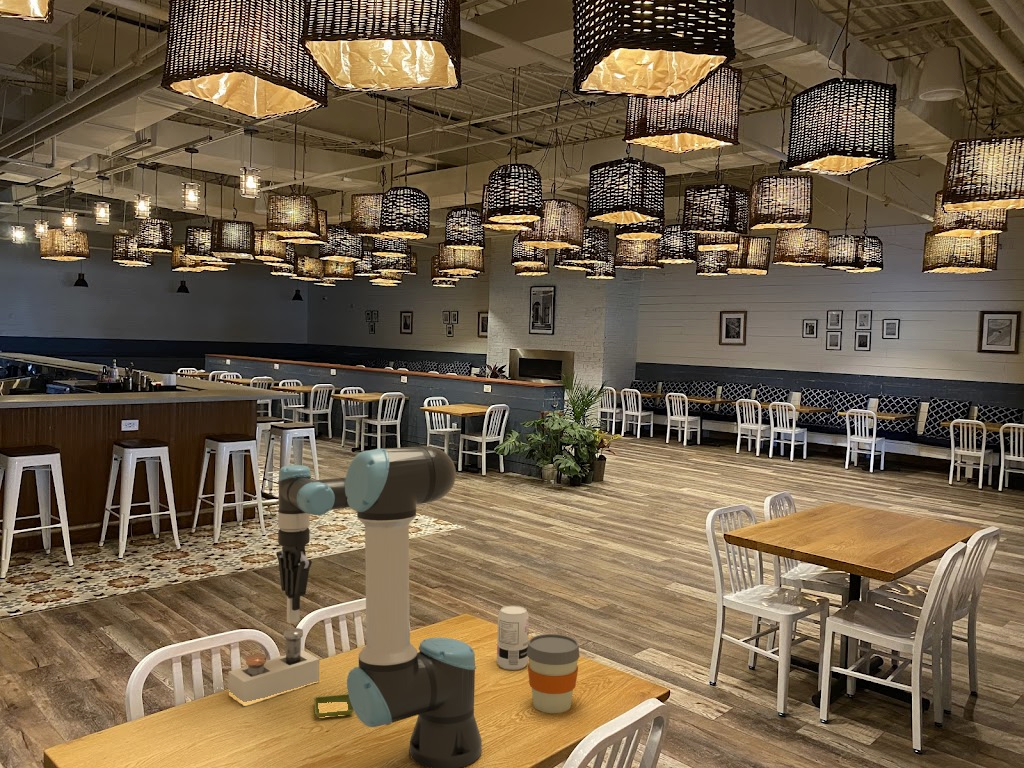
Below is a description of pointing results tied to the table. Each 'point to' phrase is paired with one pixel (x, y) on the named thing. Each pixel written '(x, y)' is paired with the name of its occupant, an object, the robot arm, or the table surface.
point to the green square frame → (331, 699)
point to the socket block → (273, 677)
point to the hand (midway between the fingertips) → (293, 621)
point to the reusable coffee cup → (552, 671)
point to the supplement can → (512, 637)
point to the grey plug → (293, 645)
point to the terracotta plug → (255, 664)
